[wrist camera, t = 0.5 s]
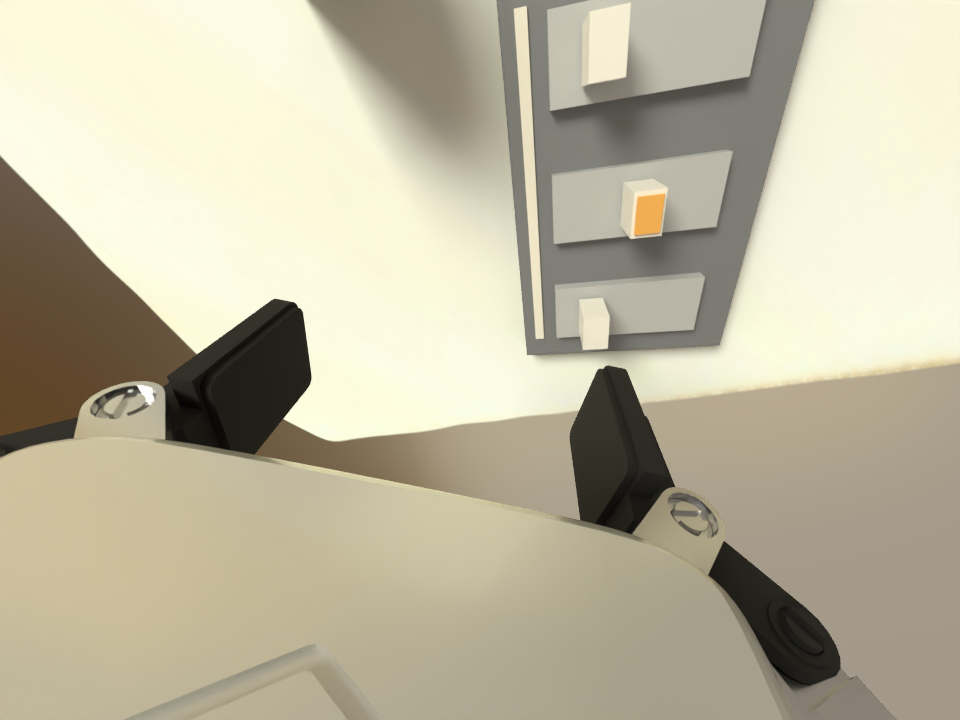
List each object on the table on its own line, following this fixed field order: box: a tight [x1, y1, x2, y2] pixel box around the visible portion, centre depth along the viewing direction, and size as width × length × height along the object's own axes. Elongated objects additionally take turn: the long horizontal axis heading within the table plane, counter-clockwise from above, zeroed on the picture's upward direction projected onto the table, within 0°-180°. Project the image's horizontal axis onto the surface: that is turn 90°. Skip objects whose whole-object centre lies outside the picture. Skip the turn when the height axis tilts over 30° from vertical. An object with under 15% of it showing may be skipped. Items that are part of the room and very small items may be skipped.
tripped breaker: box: [620, 179, 668, 239], centre depth 25 cm, size 2×3×4 cm, turn 8°
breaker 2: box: [579, 298, 610, 350], centre depth 31 cm, size 2×3×4 cm, turn 9°
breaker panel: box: [497, 0, 814, 355], centre depth 28 cm, size 18×28×3 cm, turn 8°
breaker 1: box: [582, 2, 631, 86], centre depth 20 cm, size 2×3×4 cm, turn 8°
